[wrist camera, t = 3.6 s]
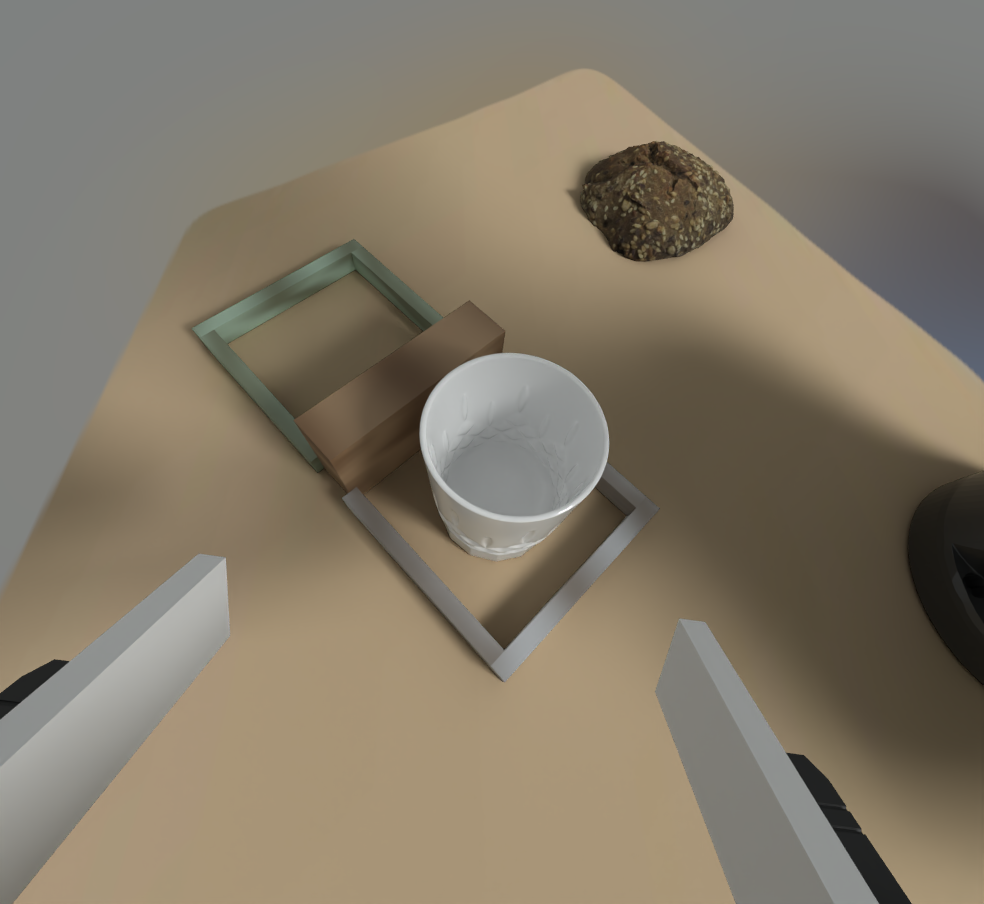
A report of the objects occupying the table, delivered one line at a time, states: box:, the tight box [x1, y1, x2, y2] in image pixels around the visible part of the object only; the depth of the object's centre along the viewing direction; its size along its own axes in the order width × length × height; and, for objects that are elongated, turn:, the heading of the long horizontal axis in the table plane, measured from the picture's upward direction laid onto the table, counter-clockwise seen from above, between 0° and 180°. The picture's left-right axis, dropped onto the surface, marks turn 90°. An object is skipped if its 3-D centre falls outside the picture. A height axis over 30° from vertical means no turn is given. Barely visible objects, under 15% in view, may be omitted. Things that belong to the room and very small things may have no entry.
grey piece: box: [192, 239, 660, 682], centre depth 27 cm, size 13×29×6 cm, turn 44°
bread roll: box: [581, 141, 733, 261], centre depth 39 cm, size 13×12×5 cm
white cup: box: [419, 353, 609, 561], centre depth 23 cm, size 8×8×10 cm
